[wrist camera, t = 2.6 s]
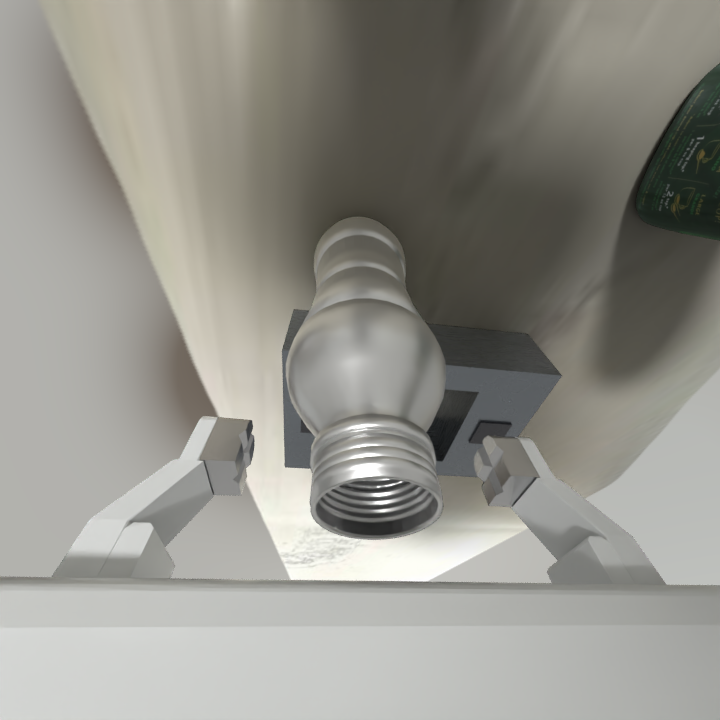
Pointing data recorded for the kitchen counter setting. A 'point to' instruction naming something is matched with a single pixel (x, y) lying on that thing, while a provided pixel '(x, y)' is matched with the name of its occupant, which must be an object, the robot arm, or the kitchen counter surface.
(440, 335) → the grey slotted block
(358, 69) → the kitchen counter surface
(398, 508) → the silver bottle
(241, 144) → the kitchen counter surface
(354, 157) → the kitchen counter surface
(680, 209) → the coffee jar
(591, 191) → the kitchen counter surface
